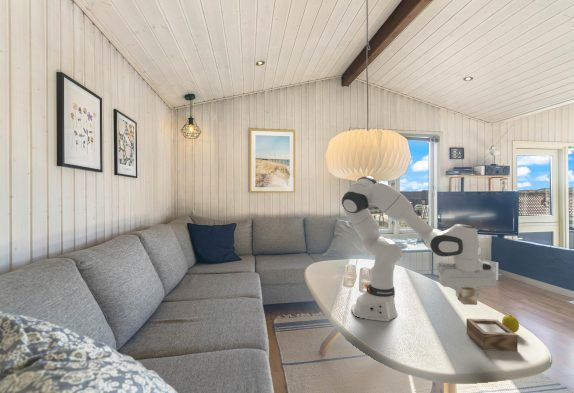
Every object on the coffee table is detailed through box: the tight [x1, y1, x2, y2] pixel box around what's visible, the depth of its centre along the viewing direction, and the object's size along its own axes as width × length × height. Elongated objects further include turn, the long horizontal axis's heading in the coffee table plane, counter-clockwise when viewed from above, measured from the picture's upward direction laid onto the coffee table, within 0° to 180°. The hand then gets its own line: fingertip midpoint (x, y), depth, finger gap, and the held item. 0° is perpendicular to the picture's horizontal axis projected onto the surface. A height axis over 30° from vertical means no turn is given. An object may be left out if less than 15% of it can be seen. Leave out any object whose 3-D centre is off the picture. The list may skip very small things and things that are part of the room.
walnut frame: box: [466, 318, 518, 352], centre depth 106 cm, size 12×12×6 cm
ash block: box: [457, 287, 478, 306], centre depth 107 cm, size 5×5×6 cm
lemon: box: [501, 314, 520, 333], centre depth 112 cm, size 6×6×8 cm
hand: (467, 296), depth 107 cm, fingers closed on ash block, 5 cm apart
